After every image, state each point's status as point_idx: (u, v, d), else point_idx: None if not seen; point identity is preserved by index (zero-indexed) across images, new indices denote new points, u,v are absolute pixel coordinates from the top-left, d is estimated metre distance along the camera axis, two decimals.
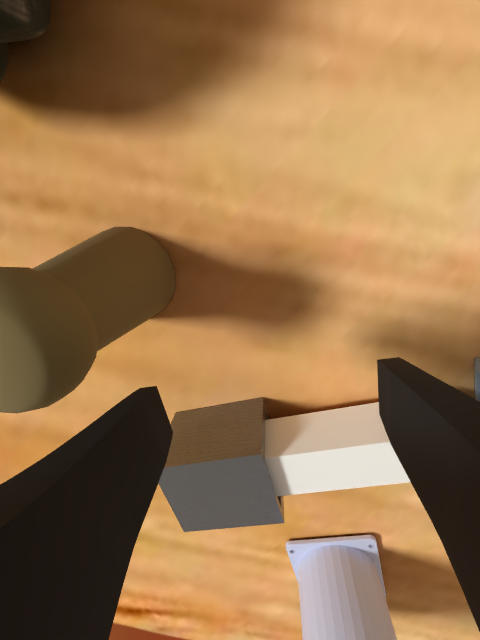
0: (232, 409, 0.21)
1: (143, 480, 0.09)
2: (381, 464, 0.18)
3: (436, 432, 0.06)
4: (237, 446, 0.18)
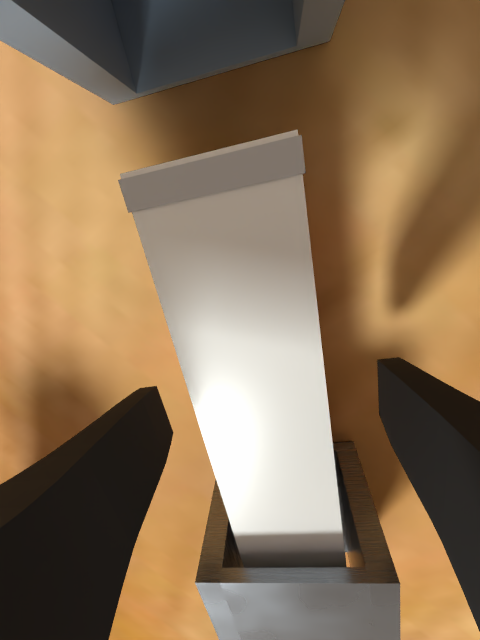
0: None
1: (144, 480, 0.09)
2: (252, 378, 0.07)
3: (436, 432, 0.06)
4: None
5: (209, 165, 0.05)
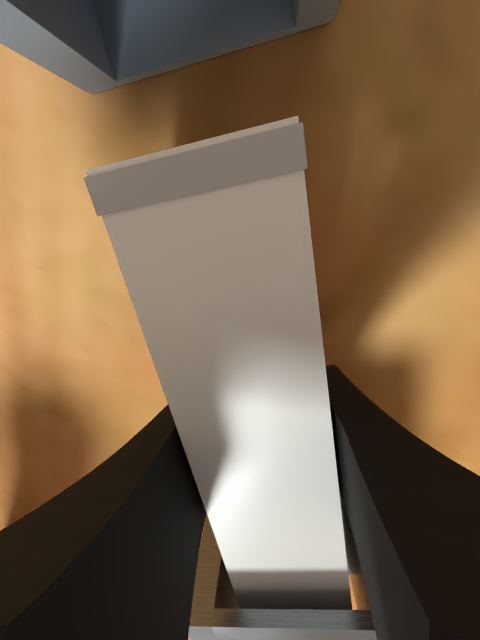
0: None
1: None
2: (245, 405, 0.06)
3: (342, 440, 0.06)
4: None
5: (192, 159, 0.05)
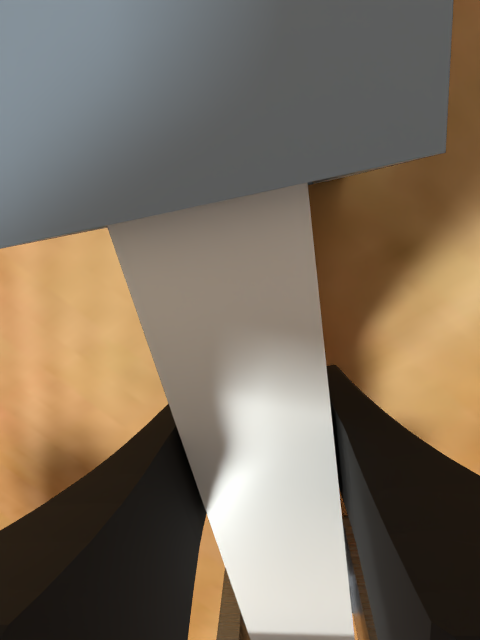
0: None
1: None
2: (247, 410, 0.06)
3: (342, 440, 0.06)
4: None
5: None
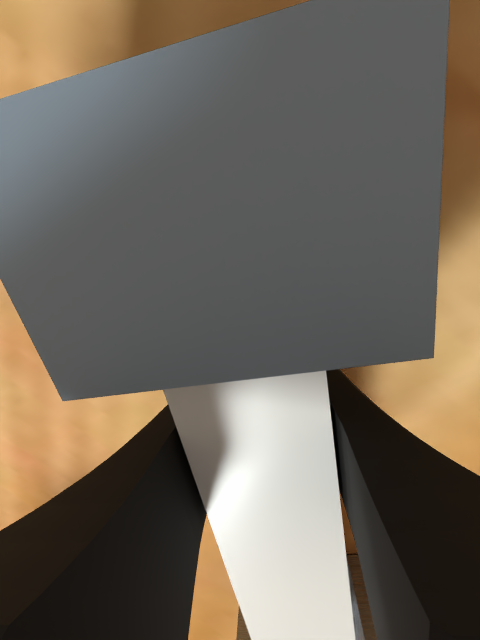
0: None
1: None
2: (247, 413, 0.06)
3: (342, 439, 0.06)
4: None
5: None
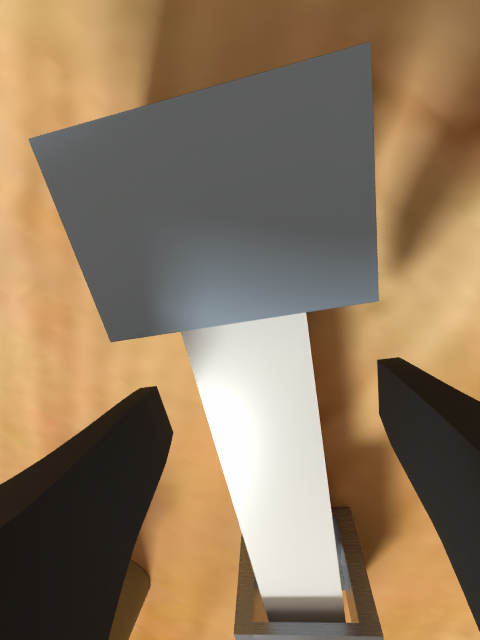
0: None
1: (144, 480, 0.09)
2: (248, 356, 0.08)
3: (436, 432, 0.06)
4: None
5: None
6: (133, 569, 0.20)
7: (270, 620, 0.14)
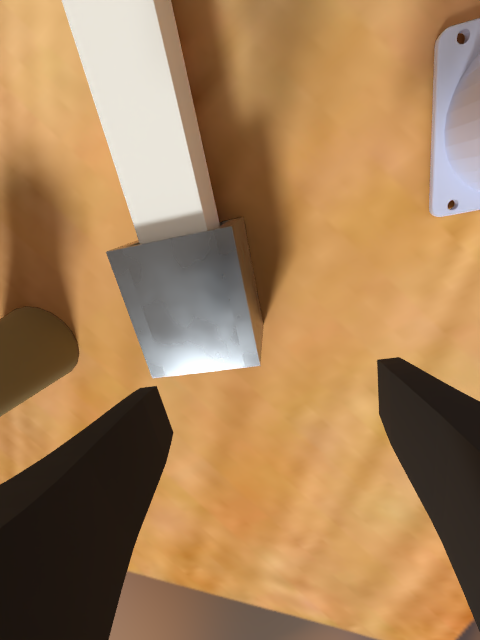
0: None
1: (144, 480, 0.09)
2: None
3: (436, 432, 0.06)
4: None
5: None
6: (59, 323, 0.21)
7: None
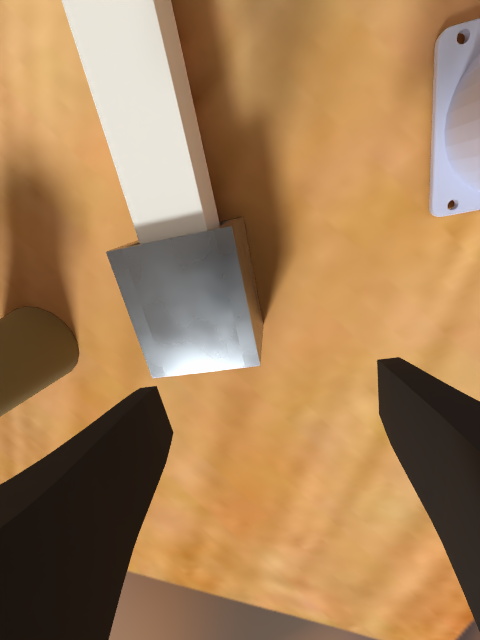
0: None
1: (144, 480, 0.09)
2: None
3: (436, 432, 0.06)
4: None
5: None
6: (59, 323, 0.21)
7: None
